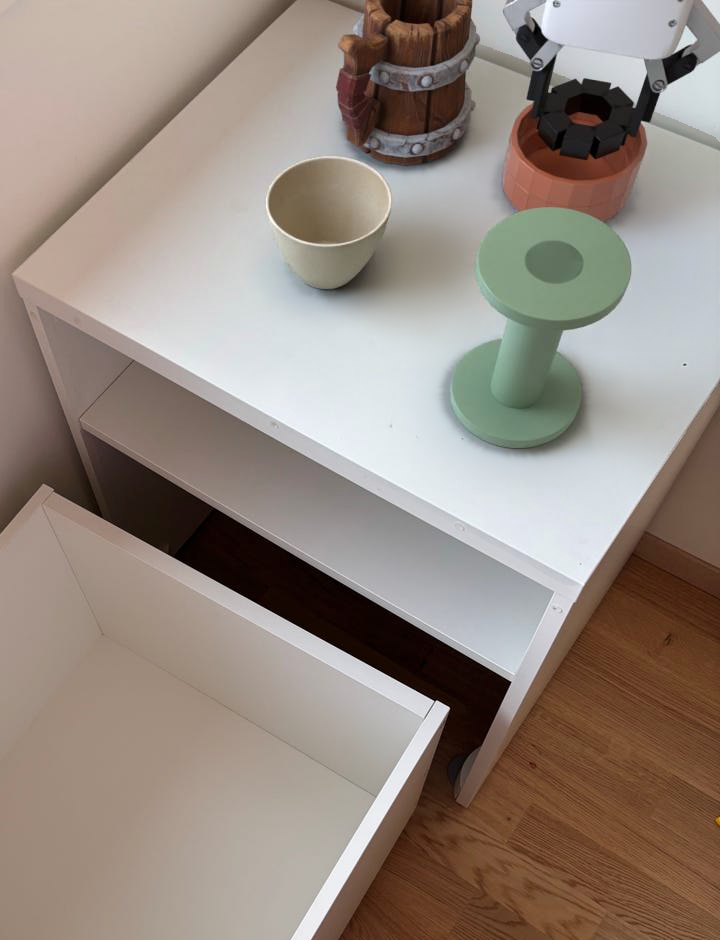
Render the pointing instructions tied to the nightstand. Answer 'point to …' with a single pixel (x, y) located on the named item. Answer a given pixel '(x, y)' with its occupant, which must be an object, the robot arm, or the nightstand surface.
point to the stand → (536, 322)
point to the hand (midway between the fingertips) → (586, 115)
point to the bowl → (568, 171)
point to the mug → (408, 78)
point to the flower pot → (328, 217)
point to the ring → (580, 137)
